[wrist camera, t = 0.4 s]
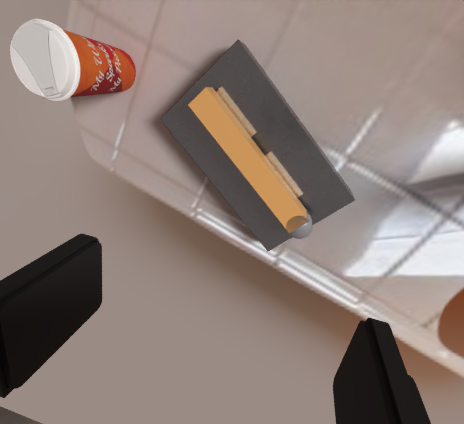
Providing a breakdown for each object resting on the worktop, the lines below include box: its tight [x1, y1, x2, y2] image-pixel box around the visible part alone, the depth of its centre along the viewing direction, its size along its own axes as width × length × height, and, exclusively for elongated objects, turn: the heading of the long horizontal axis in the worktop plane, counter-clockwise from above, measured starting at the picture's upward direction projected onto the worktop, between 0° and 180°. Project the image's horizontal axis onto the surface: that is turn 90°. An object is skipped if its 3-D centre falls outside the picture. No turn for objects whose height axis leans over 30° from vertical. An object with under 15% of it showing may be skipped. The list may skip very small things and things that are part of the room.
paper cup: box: [10, 19, 136, 101], centre depth 36 cm, size 8×8×14 cm
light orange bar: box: [188, 87, 312, 239], centre depth 36 cm, size 22×3×2 cm, turn 40°
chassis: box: [160, 40, 355, 251], centre depth 40 cm, size 24×14×5 cm, turn 40°
